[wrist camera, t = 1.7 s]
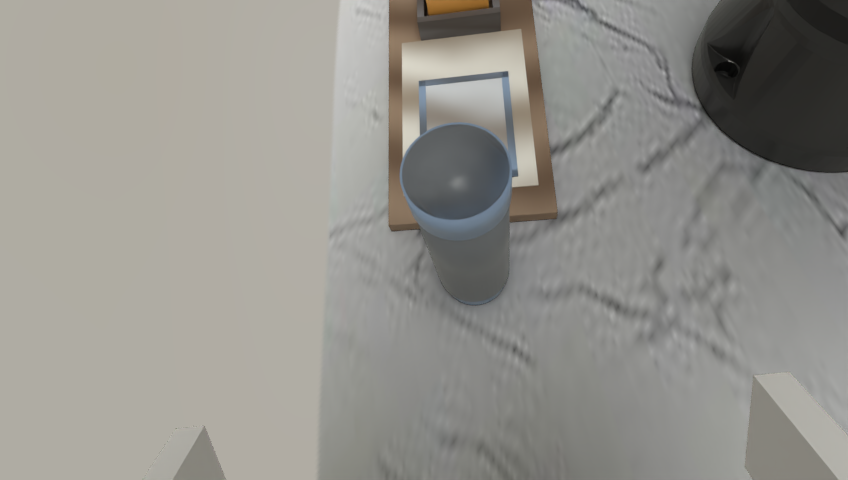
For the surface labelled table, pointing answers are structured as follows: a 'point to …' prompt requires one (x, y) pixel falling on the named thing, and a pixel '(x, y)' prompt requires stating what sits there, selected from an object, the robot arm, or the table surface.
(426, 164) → the cup
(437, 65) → the wooden board
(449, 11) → the button
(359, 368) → the table surface
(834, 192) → the table surface
